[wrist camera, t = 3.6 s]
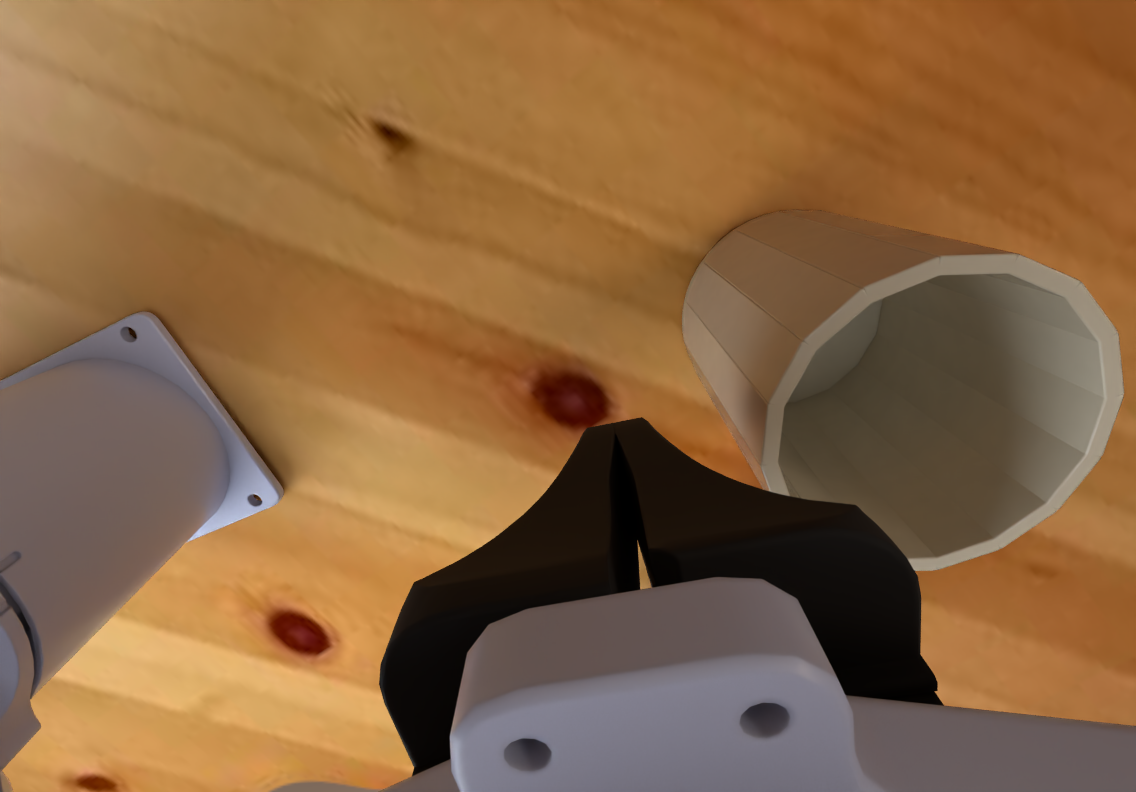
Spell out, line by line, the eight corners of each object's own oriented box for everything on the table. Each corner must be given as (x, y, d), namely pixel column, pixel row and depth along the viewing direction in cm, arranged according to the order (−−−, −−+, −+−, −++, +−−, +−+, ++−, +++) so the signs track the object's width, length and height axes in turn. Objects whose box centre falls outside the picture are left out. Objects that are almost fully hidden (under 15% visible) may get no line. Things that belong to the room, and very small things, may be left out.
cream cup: (718, 433, 21) (814, 611, 13) (652, 263, 19) (716, 348, 11) (903, 361, 20) (1137, 506, 12) (856, 172, 18) (1105, 187, 10)
